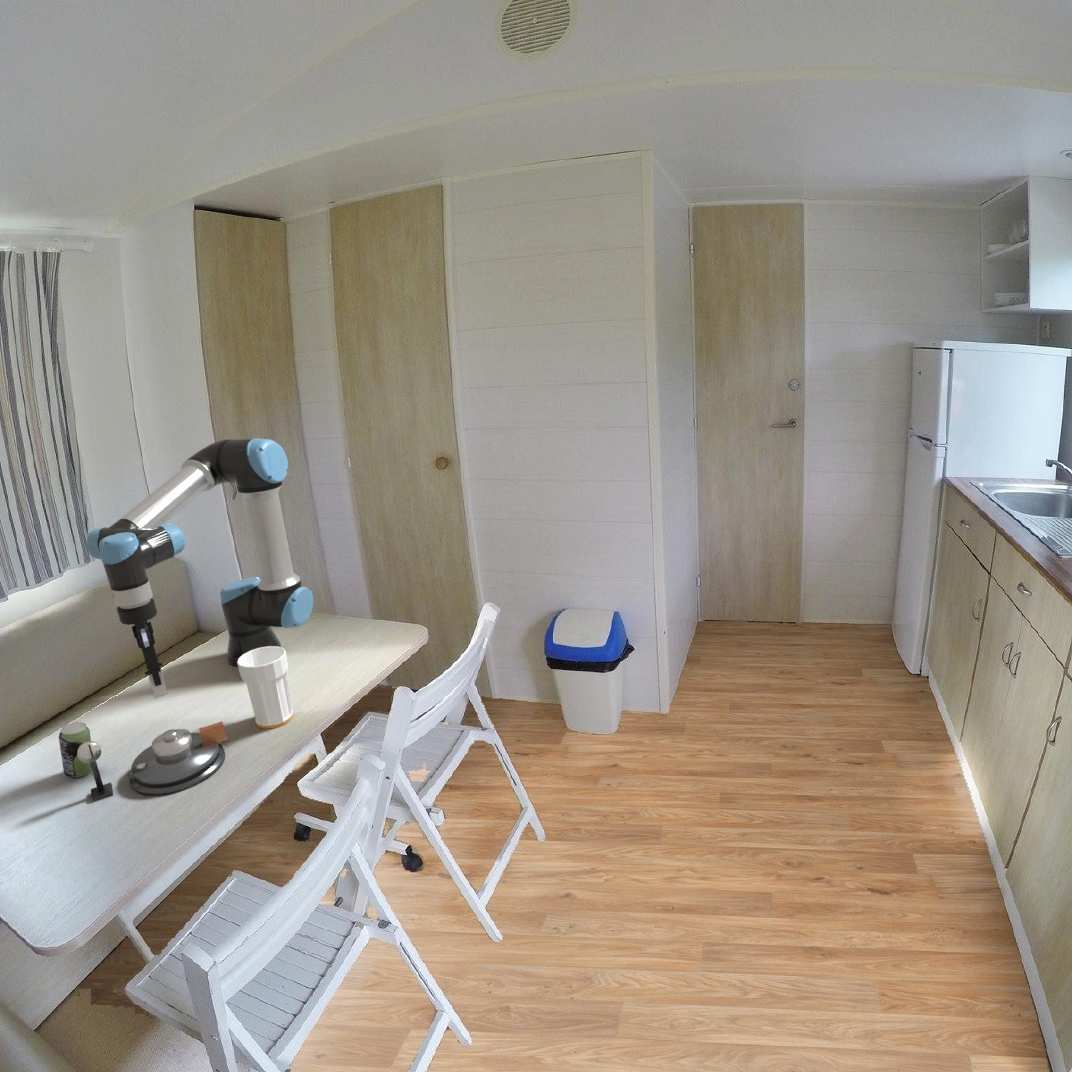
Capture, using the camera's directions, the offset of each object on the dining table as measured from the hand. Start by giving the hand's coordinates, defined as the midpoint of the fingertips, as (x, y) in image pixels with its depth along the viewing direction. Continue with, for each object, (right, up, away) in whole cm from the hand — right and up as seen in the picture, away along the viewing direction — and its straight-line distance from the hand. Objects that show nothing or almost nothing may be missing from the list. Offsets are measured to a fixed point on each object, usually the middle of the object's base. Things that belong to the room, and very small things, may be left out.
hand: (161, 695), depth 178 cm
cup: (+22, -9, +14) cm, 27 cm away
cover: (+5, -12, -4) cm, 14 cm away
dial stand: (-8, -19, -11) cm, 23 cm away
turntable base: (+6, -16, -4) cm, 17 cm away
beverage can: (-17, -17, -2) cm, 24 cm away
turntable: (+6, -14, -3) cm, 16 cm away
